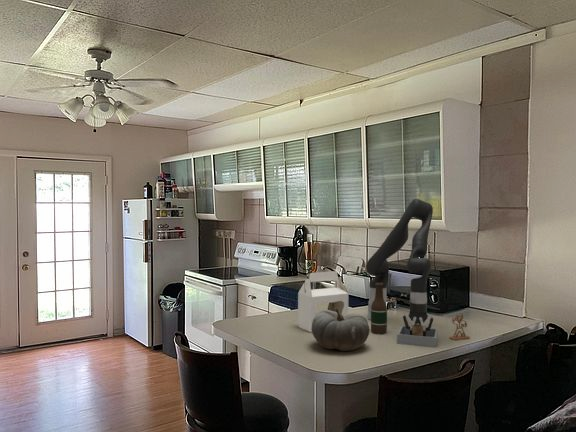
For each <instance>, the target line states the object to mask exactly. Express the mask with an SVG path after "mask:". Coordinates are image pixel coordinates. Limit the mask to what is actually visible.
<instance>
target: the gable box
mask: <svg viewBox="0 0 576 432" xmlns="http://www.w3.org/2000/svg"><path fill="white" fill-rule="evenodd" d="M307 277H308V278H306V279H304V283H303V284H302V286H301V288H300V289H299V291H298V293H297V327H298V328H300V329H302V330H304V331H307V332H309V333H311V334H313V333H312V322H313V319H314V317H315V316H316V315H317V314H318V311H317V305H319V304H321V303H328V306H327V310H331V311H334V312H336V311H335V309H336V308H337V309H338V311H339V312H340V313H341V314H342V315H343V316H346V315H348V314H349V292H348V290H347V288H346V287H345V285H344V282H343V281H342V277H341V276H338V271H336V270H332V271H317V272H310V273H309V274H307ZM327 281H334V287H328V288H327V287H325V288H315V289H313V288H312V283H314V282H316V283H317V282H327Z"/></svg>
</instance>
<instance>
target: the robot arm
mask: <svg viewBox="0 0 576 432" xmlns="http://www.w3.org/2000/svg"><path fill="white" fill-rule="evenodd" d="M433 207H434V206H433V205H432V204H431V203H429V202H426V201H424V200H422V199H419V198H413V199H412V200H411V201H410V202H409V204H408V206H407V207H406V209H405V210H404V212H403V214H402V215H401V217H400V219H399V220H398V222H397V223H396V225H395V226H394V227H393V228H392V230H391V231H390V232H389V234H388V236H386V238H385V239H384V241H383V242H382V243H381V245H380V246H379V247H378V249H377V250H376V252H374V253H373V254H372V255H371V257H370V258H369V259H368V260H367V262H366V266H365V269H366V273H368V274H369V275H370V276H374V278H373V279H372V280H371V281H369V283H368V284H369V285H368V288H369V290H368V292H369V293H368V294H369V296H368V302H367V304H368V307H367V311H368V313H367V320H371V305H372V302H373V301H374V300H375V293H376V285H375V284H376V283H383V299H384V301H385V303H386V304H387V285H388V282H389V275H390V274H389V271H390V267H389V266H390V265H389V261H388V260H389V258H390V257H392V256H393V255H395V254H396V253H397V252H399V251H400V250H401V249H403V247H404V246H405V244H406V243H407V242H408V240H409V223H410V221H411V220H412V219H413V218H414V219H416V220H420V221H421V225H420V228H419V229H418V230H417V231H416V232H414V235H413V236H412V241H411V251H410V255H409V256H408V257H409V258H408V260H407V263H406V270H407V271H408V272H409V273H411V274H422V275H421V276H420V277H415V278H412V279H411V280H410V294H409V313H408V314H403V316H402V319H403V323H404V326H405V327H406V329H409V330H410V335H412V326H414V324H421V325H422V326H423V336H424V337H426V331H430V328H431V329H432V325H433V321H434V317H433V316H429V315H428V312H427V309H428V308H427V307H428V294H427V283H428V278H429V275H430V271H431V268H432V267H431V266H432V262H431V260H430V259H429V258H428V257H426V258H425V256H426V255H427V253H428V241H429V240H428V239H429V232H430V227H431V223H432V220H433V219H432V218H433V214H434V208H433ZM409 319H410V320H411V324H410V325H409V321H408V320H409ZM426 321H428V326H427V327H426V323H425V322H426Z"/></svg>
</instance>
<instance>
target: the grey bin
mask: <svg viewBox="0 0 576 432" xmlns="http://www.w3.org/2000/svg"><path fill="white" fill-rule="evenodd" d="M438 331H439V329H438V328H432V327H431V328H430V331H426V337H424V336H413V335H410V330H409V329H406V327H405V325H401V326H400V328H399V330H398V333H397V334H396V335H397V336H396V339H397V340H396V344H399V345H400V344H401V345H409V346H420V347H431V348H437V342H438V338H439V337H438Z"/></svg>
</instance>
